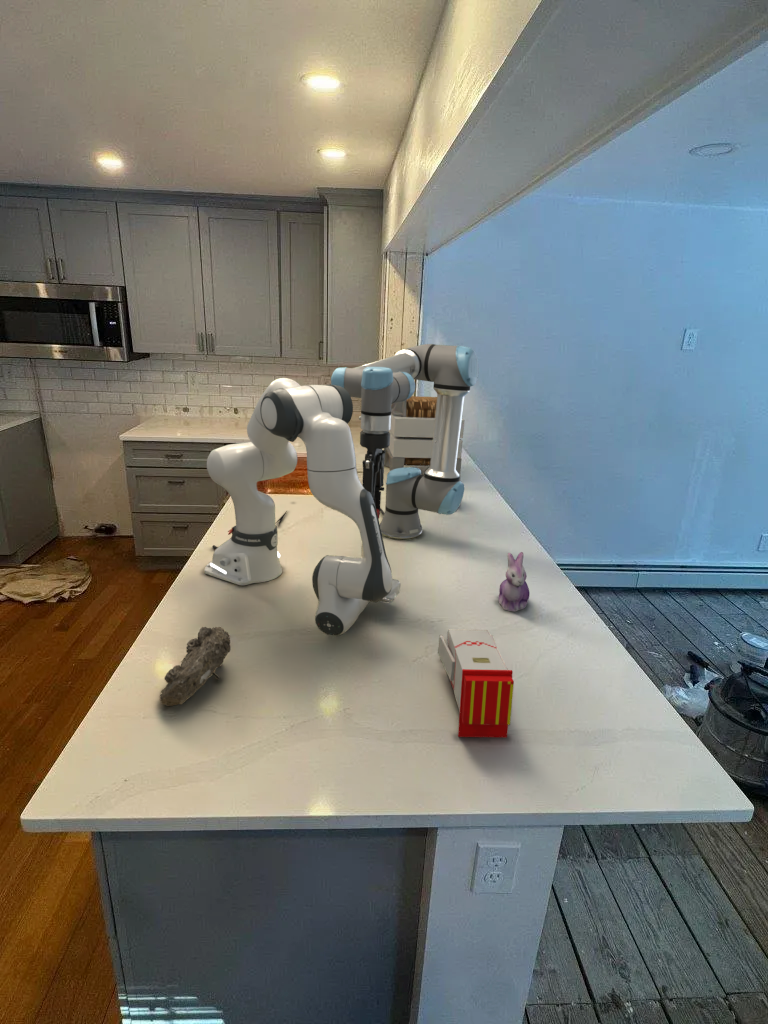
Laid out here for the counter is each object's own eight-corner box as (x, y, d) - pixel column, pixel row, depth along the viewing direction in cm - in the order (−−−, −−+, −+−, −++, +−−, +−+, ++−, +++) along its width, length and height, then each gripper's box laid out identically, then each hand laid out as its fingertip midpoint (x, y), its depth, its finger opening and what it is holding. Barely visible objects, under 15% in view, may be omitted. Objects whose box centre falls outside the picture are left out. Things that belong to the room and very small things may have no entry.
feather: (294, 505, 227) (296, 501, 226) (277, 528, 200) (280, 524, 199) (290, 503, 226) (292, 499, 226) (273, 526, 200) (276, 521, 199)
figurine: (511, 616, 149) (518, 564, 143) (487, 598, 157) (493, 549, 152) (539, 609, 153) (547, 558, 148) (514, 592, 161) (521, 544, 156)
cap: (366, 520, 148) (366, 513, 147) (363, 515, 151) (363, 508, 150) (380, 520, 148) (381, 512, 148) (377, 515, 152) (377, 507, 151)
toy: (488, 613, 130) (523, 677, 101) (484, 667, 133) (517, 744, 104) (435, 612, 130) (455, 676, 101) (432, 666, 133) (451, 743, 103)
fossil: (184, 629, 128) (231, 598, 123) (214, 657, 131) (261, 628, 126) (138, 700, 109) (191, 667, 104) (173, 731, 112) (227, 701, 107)
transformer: (382, 463, 289) (386, 382, 275) (445, 464, 293) (451, 384, 279) (390, 482, 257) (394, 392, 243) (460, 483, 261) (468, 394, 247)
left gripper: (392, 590, 140) (407, 568, 152) (316, 576, 145) (337, 555, 158) (391, 613, 142) (406, 589, 154) (316, 598, 148) (336, 576, 160)
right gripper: (370, 423, 151) (367, 505, 159) (350, 436, 134) (348, 527, 142) (397, 425, 149) (393, 508, 157) (380, 439, 133) (376, 531, 141)
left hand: (370, 572), depth 156 cm, fingers closed on bottle, 5 cm apart
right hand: (372, 517), depth 150 cm, fingers open, 5 cm apart
